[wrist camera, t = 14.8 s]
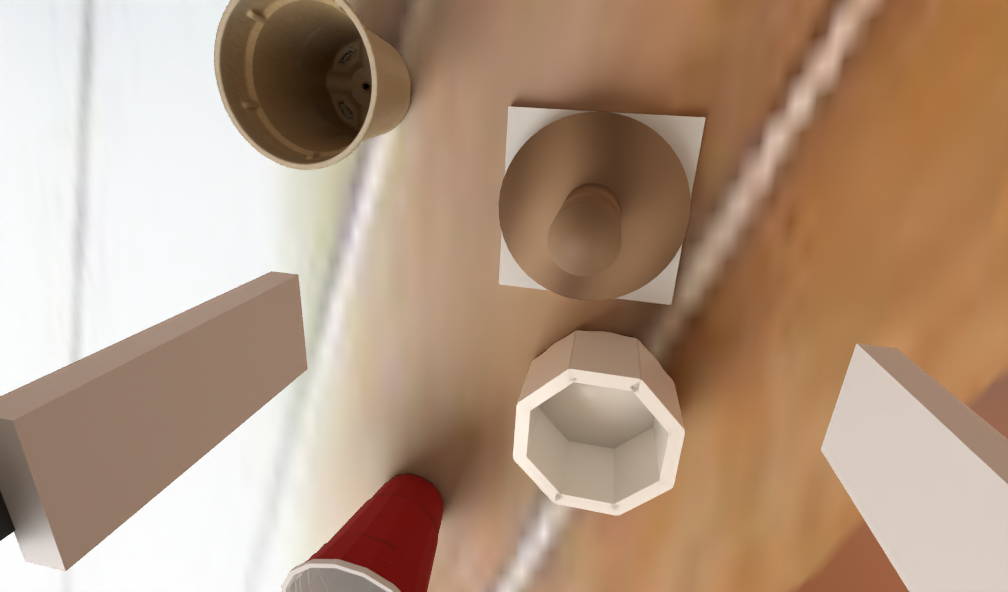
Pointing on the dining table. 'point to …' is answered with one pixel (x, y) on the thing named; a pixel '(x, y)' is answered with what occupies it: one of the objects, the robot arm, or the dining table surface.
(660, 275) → the mat
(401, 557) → the plastic cup
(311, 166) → the flower pot
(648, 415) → the bowl
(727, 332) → the dining table surface
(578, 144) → the lid
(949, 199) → the dining table surface
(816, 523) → the dining table surface
